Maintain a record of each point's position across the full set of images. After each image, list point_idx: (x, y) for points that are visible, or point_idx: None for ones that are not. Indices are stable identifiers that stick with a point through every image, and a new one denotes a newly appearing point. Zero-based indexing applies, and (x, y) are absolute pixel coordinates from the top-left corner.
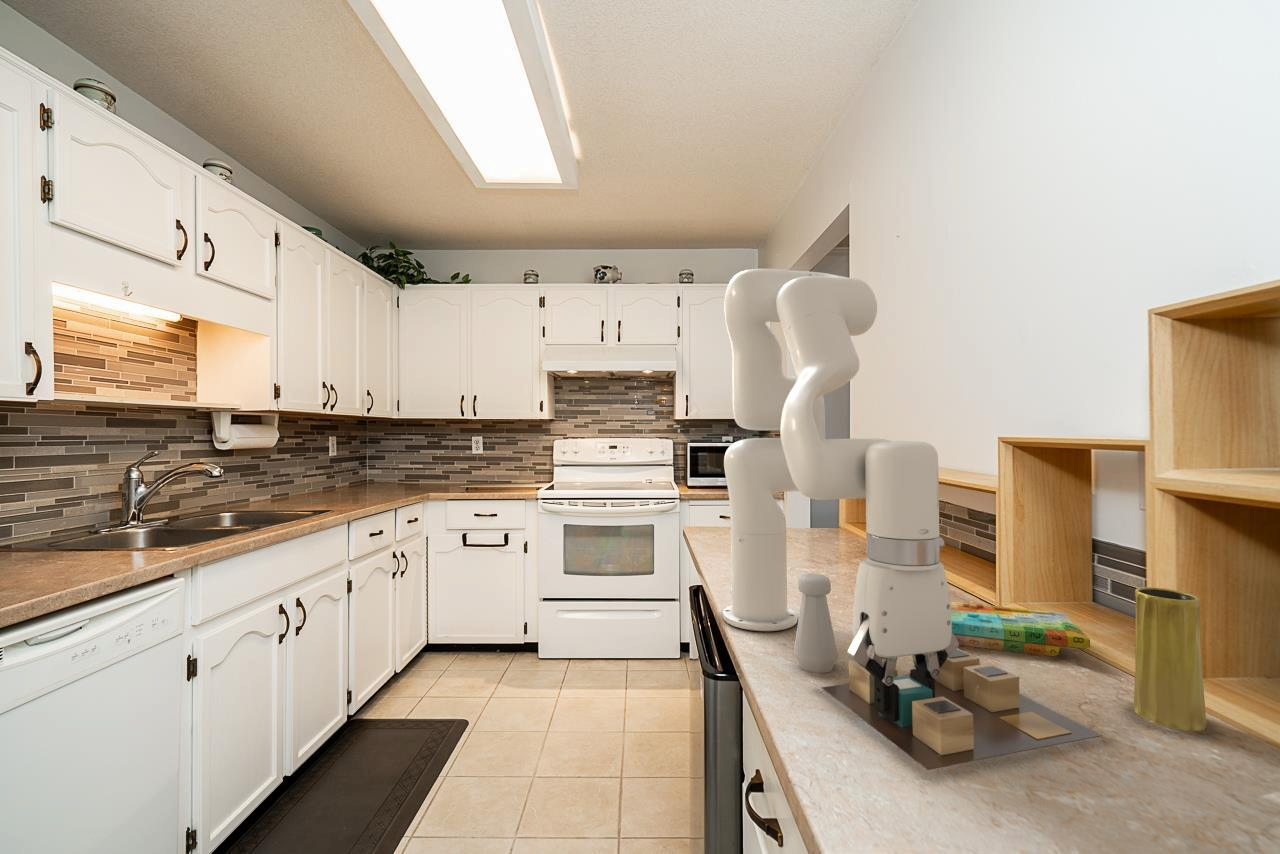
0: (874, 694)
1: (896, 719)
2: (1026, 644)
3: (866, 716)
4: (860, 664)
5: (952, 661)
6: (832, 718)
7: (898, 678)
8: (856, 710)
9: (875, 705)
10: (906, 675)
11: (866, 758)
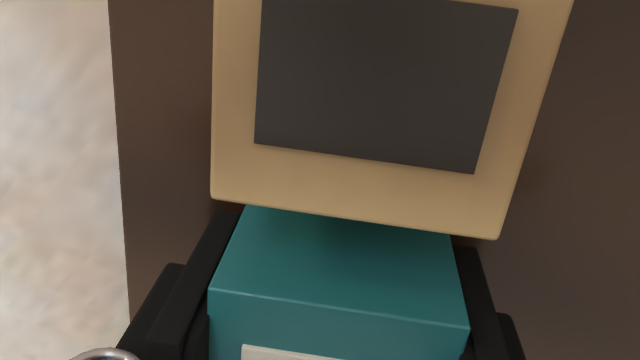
0: (150, 292)
1: None
2: None
3: (156, 201)
4: (262, 24)
5: None
6: (23, 93)
7: (360, 338)
8: (144, 136)
9: (214, 214)
10: (462, 330)
11: (19, 350)
